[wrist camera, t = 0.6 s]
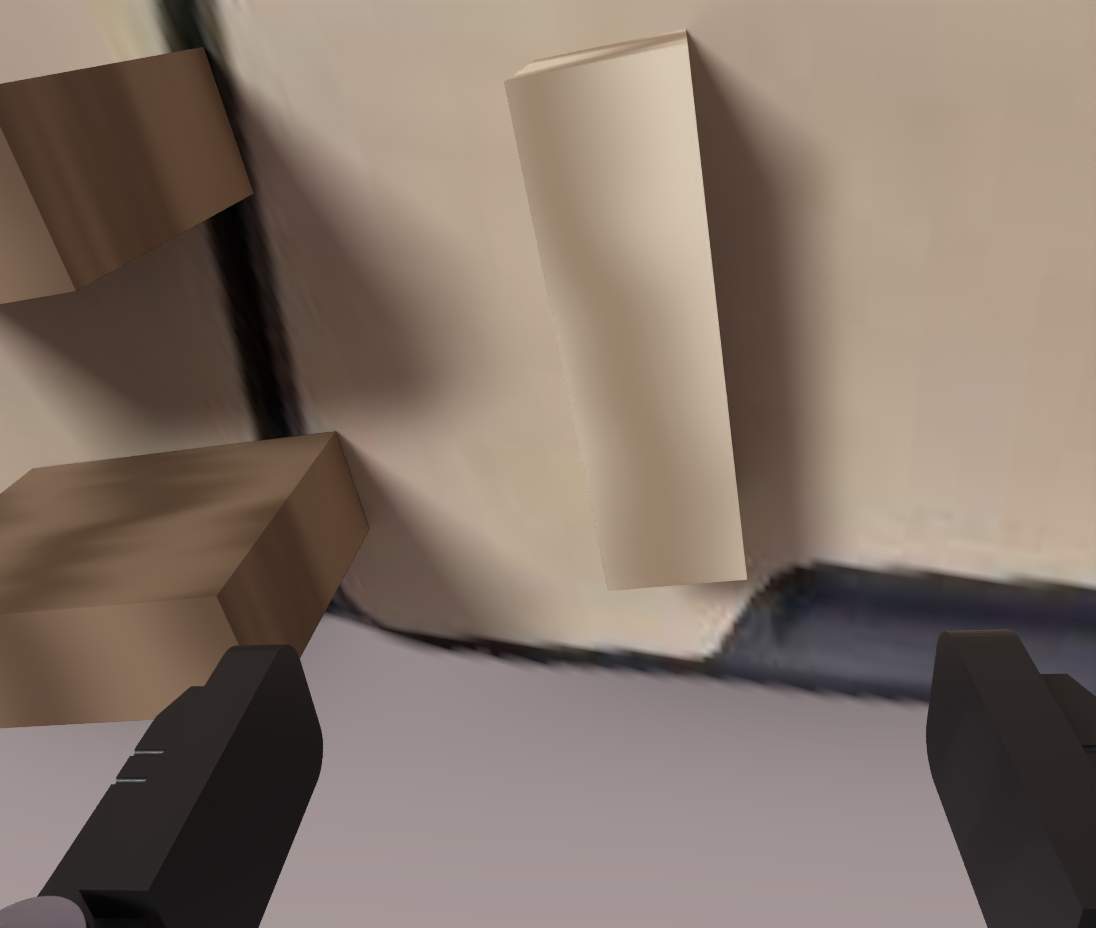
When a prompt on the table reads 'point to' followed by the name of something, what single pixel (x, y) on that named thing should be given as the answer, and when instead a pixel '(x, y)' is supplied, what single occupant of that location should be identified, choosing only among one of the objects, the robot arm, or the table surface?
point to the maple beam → (634, 303)
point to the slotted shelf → (155, 479)
